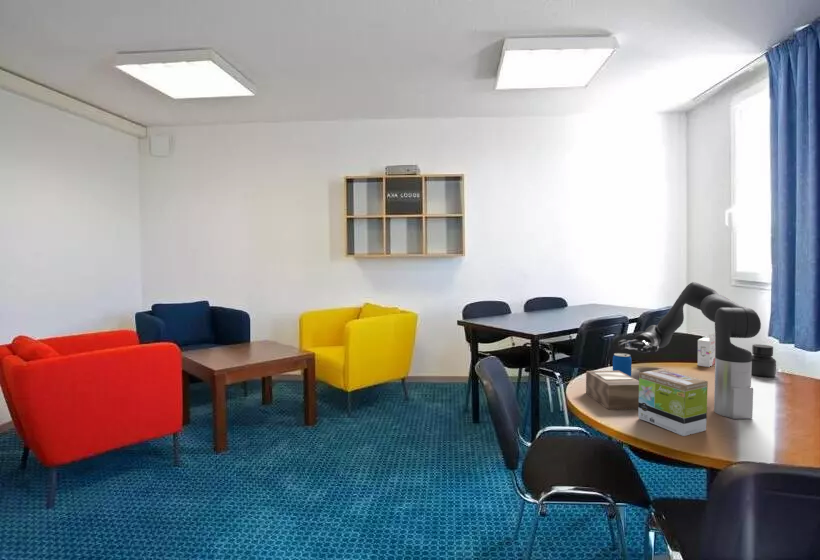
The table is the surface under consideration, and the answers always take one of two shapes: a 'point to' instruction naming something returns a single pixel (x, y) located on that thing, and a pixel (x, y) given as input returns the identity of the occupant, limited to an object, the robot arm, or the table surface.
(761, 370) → the ink bottle
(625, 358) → the beverage can
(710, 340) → the ink cartridge box
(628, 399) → the walnut box
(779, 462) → the table surface
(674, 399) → the tea box
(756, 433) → the table surface
